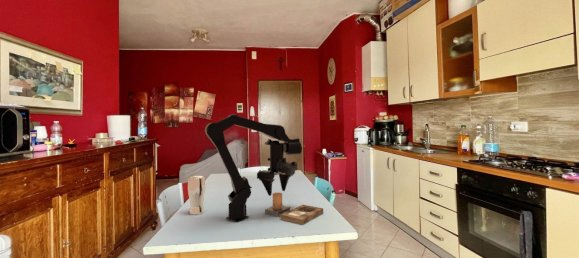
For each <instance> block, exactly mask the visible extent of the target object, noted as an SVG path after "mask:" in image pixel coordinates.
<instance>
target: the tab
mask: <svg viewBox="0 0 579 258" xmlns="http://www.w3.org/2000/svg"><path fill="white" fill-rule="evenodd" d="M290 210H291V207H290V206H285V205H282V209H279V210H275V209H273V205H272V206H269V207H266V208H265V209H264V215H268V216H272V217H276V218H279V217H280V215H281V214H283V213H285V212H287V211H290Z"/></svg>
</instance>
